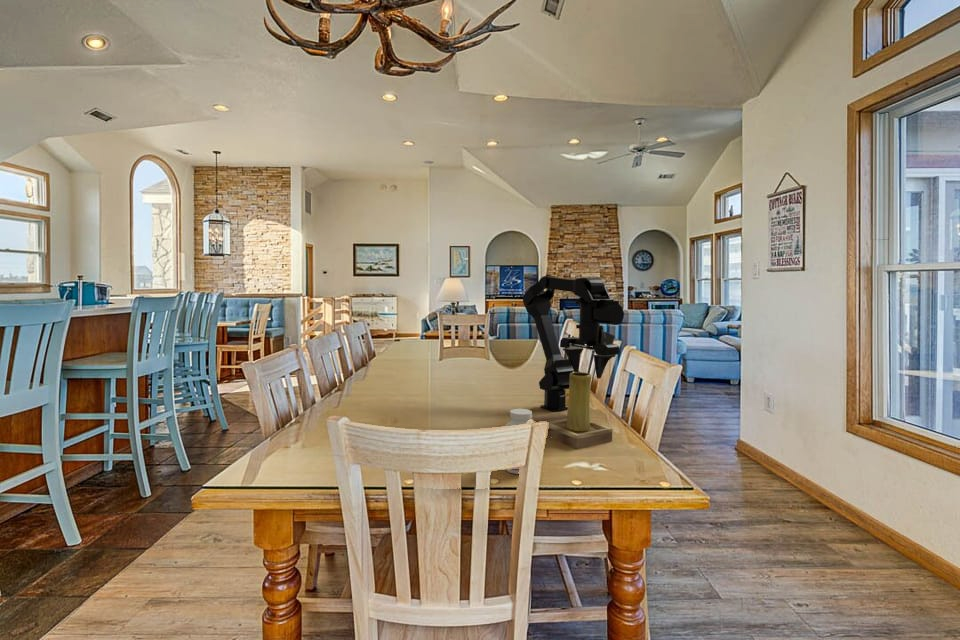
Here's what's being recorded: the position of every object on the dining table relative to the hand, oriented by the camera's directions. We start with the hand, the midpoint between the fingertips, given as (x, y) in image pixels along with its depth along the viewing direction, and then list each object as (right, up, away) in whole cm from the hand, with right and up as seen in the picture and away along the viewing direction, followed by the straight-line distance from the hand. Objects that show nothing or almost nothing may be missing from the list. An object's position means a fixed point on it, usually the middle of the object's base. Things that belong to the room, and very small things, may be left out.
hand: (587, 375), depth 151 cm
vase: (-6, -12, -16) cm, 21 cm away
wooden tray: (-8, -14, -13) cm, 21 cm away
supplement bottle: (-23, -16, -38) cm, 48 cm away
